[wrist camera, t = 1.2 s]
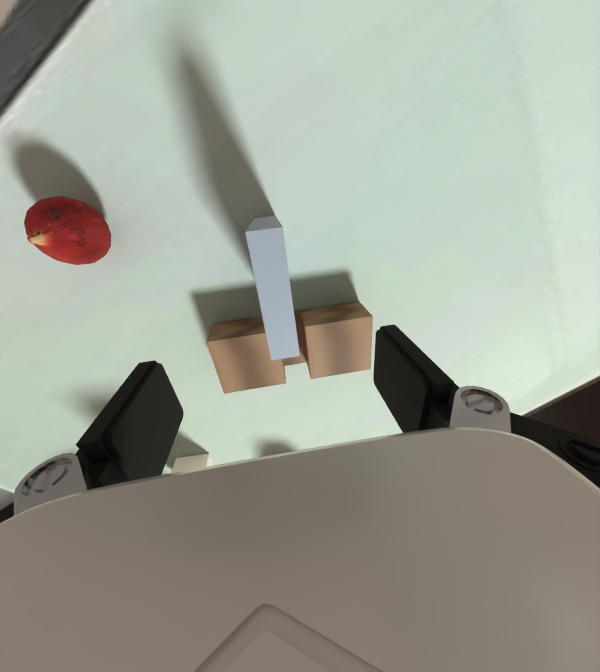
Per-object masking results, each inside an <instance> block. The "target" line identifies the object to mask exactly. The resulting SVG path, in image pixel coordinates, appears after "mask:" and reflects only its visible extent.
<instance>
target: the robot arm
mask: <svg viewBox="0 0 600 672" xmlns="http://www.w3.org/2000/svg"><path fill="white" fill-rule="evenodd" d="M374 384H375V386H376V388H377V389H378V391H379V393H380V394H381V396H382V398H383V400H384V401H385V403H386V405H387V406H388V408H389V410H390V411H391V413H392V415H393V416H394V418H395V420H396V422H397V423H398V425H399V427H400V428H401V430H402V432H403V433H400V434H394V435H387V436H381V437H375V438H369V439H363V440H357V441H351V442H345V443H339V444H334V445H328V446H322V447H316V448H310V449H304V450H299V451H293V452H287V453H282V454H276V455H270V456H264V457H259V458H253V459H248V460H242V461H236V462H231V463H225V464H220V465H214V466H209V467H203V468H198V469H192V470H187V471H181V472H176V473H170V474H165V475H161V474H162V471H163V469H164V466H165V463H166V461H167V458H168V455H169V453H170V450H171V447H172V445H173V442H174V440H175V437H176V434H177V432H178V429H179V426H180V424H181V421H182V418H183V409H182V407H181V404H180V402H179V400H178V398H177V396H176V394H175V391H174V389H173V387H172V385H171V383H170V381H169V378H168V376H167V374H166V372H165V370H164V368H163V366H162V364H160V363H157V362H156V361H149V362H142V363H139V364H138V365H137V366H136V367H135V369H134V370H133V371H132V373H131V374H130V375H129V376H128V378H127V379H126V380H125V382H124V383H123V384H122V386H121V387H120V388H119V389H118V391H117V392H116V393H115V395H114V396H113V397H112V398H111V400H110V401H109V402H108V404H107V405H106V406H105V407H104V409H103V410H102V411H101V413H100V414H99V415H98V417H97V418H96V419H95V420H94V422H93V423H92V424H91V426H90V427H89V428H88V429H87V431H86V432H85V433H84V435H83V436H82V437H81V438H80V440H79V441H78V442H77V444H76V446H77V447H78V448H79V450H78V451H77V453H76V454H72V453H66V454H61V455H58V456H55V457H53V458H51V459H49V460H47V461H45V462H43V463H42V464H40V465H38V466H37V467H36V468H34V469H33V470H32V471H31V472H29V473H28V474H27V475H26V476H25V477H24V478H23V479H22V480H21V481H20V483H19V484H18V486H17V487H16V489H15V493H14V502H13V503H12V504H10V505H9V506H7V507H5V508H4V509H3V510H1V511H0V672H600V443H598V442H596V441H595V440H592V439H590V438H587V437H585V436H582V435H579V434H576V433H573V432H570V431H567V430H563V429H560V428H557V427H554V426H551V425H548V424H545V423H542V422H538V421H536V420H532V419H529V418H526V417H523V416H520V415H517V414H514V413H511V412H510V410H509V406H508V403H507V402H506V401H505V400H504V399H503V398H502V397H501V396H499V395H498V394H497V393H495V392H493V391H491V390H488V389H485V388H482V387H477V386H465V387H461V388H459V387H458V386H457V385H456V384H455V383H454V381H452V380H451V379H450V378H449V377H448V376H447V375H446V374H445V373H444V372H443V371H442V370H441V369H440V368H439V367H438V366H437V365H436V364H435V363H434V362H433V361H432V360H431V359H430V358H429V357H428V356H427V355H426V354H425V353H423V352H422V351H421V350H420V349H419V348H418V347H417V346H416V345H415V344H414V343H413V342H412V341H411V340H410V339H409V338H408V337H407V336H406V335H405V334H404V333H403V332H402V331H401V330H400V329H399V328H398V327H397V326H396V325H388V326H381V327H380V330H377V331H376V342H375V360H374Z"/></svg>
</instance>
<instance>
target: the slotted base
mask: <svg viewBox="0 0 600 672" xmlns="http://www.w3.org/2000/svg"><path fill="white" fill-rule="evenodd" d="M294 316H295V323H296V331H297V338H298V346H299V353H300V356H297V357H291V358H284V359H278V360H272V361H271V356H270V351H269V346H268V341H267V337H266V332H265V327H264V322H263V317H262V316H261V317H254V318H247V319H241V320H234V321H228V322H221V323H215V324H214V325H213V328H212V330H211V332H210V335H209V337H208V340H207V345H208V348H209V351H210V354H211V357H212V360H213V362H214V365H215V368H216V371H217V374H218V377H219V380H220V383H221V386H222V389H223V391H224V394H225V393H231V392H236V391H242V390H248V389H254V388H260V387H266V386H272V385H278V384H284V383H286V378H285V369H284V366H286V365H293V364H299V363H305V362H307V365H308V369H309V373H310V377H311V379H314V378H320V377H326V376H332V375H338V374H344V373H350V372H356V371H362V370H368V369H371V347H372V319H373V316H372V315H371V314H370V313H369V312H368V311H367V310H366V309H365V307H364V306H363V305H362V304H361V303H360V302H352V303H346V304H339V305H333V306H326V307H320V308H313V309H307V310H300V311H294Z"/></svg>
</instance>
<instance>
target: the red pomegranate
mask: <svg viewBox="0 0 600 672" xmlns="http://www.w3.org/2000/svg"><path fill="white" fill-rule="evenodd" d="M24 224H25V229H26V234H27V236H28V237H27V239H28V240H29V242H31V243H32V244H34V245H35V246H36V247H37V248H38V249H39V250H41V251H42V252H43V253H44V254H46V255H48V256H50V257H52V258H53V259H55V260H57V261H61V262H65V263H69V264H75V265H80V264H90V263H95V262H96V261H98V260H99V259H101V258H102V257H104V256H105V255H106V254H107V252H108V250H109V248H110V247H111V233H110V230H109V227H108V224H107V223H106V222H105V220H104V219H103V218H102V216H101V215H100V214H99V213H98V212H97V211H96V210H94V209H93V208H91V207H90V206H89V205H87V204H86V203H84V202H81V201H77V200H74V199H70V198H66V197H62V196H60V197H52V198H47V199H42V200H40V201H38V202H36V203H35V204H34V205H33V206H32V207H30V208H29V209H28V211H27V213H26V217H25V221H24Z"/></svg>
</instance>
